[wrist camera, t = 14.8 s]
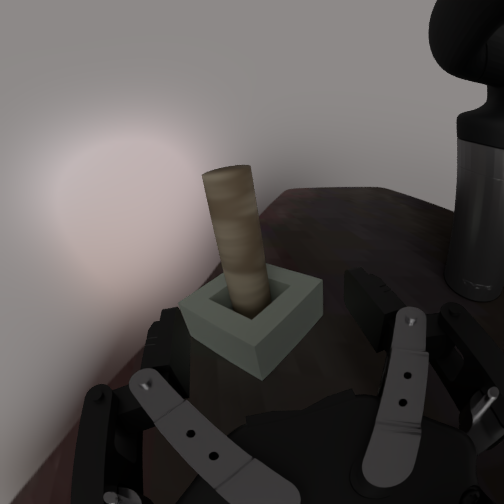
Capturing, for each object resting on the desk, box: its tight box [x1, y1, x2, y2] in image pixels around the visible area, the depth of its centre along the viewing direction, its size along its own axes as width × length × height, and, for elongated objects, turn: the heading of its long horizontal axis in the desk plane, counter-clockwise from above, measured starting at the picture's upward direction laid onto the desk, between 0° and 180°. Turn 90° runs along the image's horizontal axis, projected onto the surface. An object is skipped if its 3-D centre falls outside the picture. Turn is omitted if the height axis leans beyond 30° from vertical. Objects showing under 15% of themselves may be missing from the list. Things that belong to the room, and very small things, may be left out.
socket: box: [178, 263, 323, 381], centre depth 27 cm, size 10×10×4 cm
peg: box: [202, 165, 272, 320], centre depth 24 cm, size 4×4×16 cm
